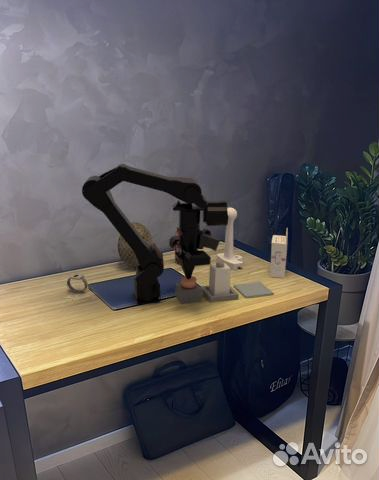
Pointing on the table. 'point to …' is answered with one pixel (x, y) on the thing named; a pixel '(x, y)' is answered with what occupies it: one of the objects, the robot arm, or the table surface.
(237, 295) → the collar
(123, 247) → the decorative egg
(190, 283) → the release button
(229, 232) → the joystick
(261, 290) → the slate pad
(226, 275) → the beige block
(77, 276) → the wristwatch
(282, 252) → the white walkie-talkie
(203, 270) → the table surface
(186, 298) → the button housing
